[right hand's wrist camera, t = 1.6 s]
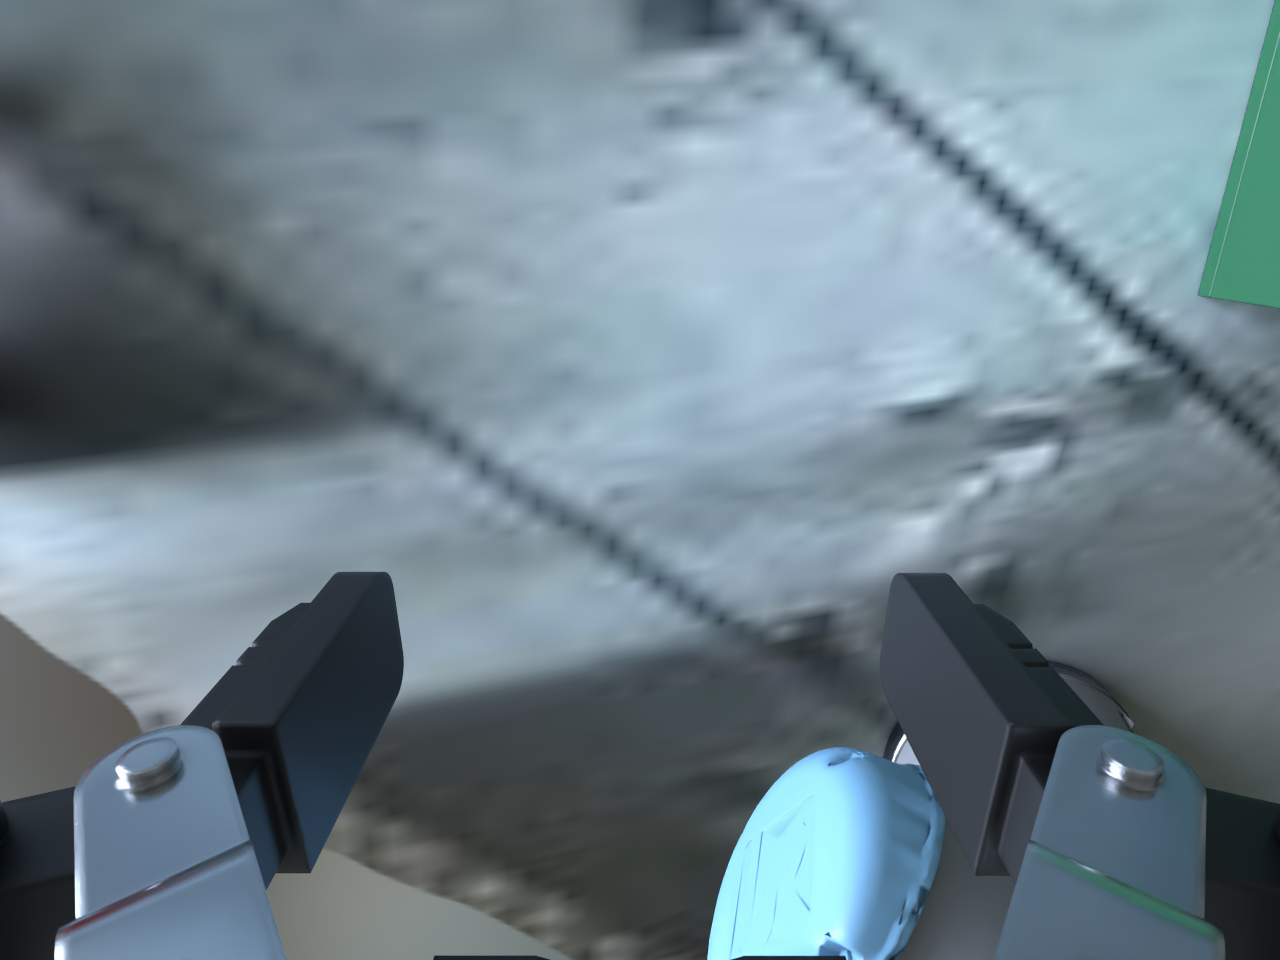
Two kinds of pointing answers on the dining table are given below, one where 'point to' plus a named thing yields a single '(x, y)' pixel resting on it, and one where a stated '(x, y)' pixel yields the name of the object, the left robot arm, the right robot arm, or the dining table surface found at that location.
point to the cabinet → (1252, 195)
